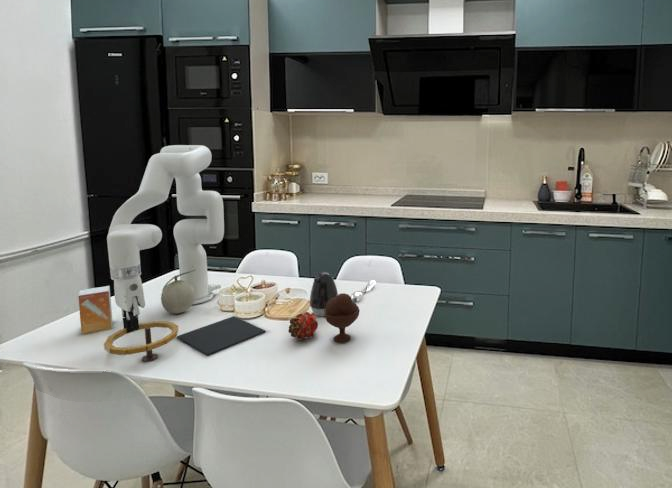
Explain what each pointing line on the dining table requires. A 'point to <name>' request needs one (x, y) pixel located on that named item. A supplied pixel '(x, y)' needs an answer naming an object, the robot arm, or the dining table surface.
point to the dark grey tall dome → (322, 292)
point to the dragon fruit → (303, 326)
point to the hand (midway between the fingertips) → (131, 329)
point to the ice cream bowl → (341, 315)
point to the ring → (143, 348)
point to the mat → (220, 335)
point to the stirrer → (357, 295)
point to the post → (149, 353)
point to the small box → (95, 309)
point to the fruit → (177, 295)
